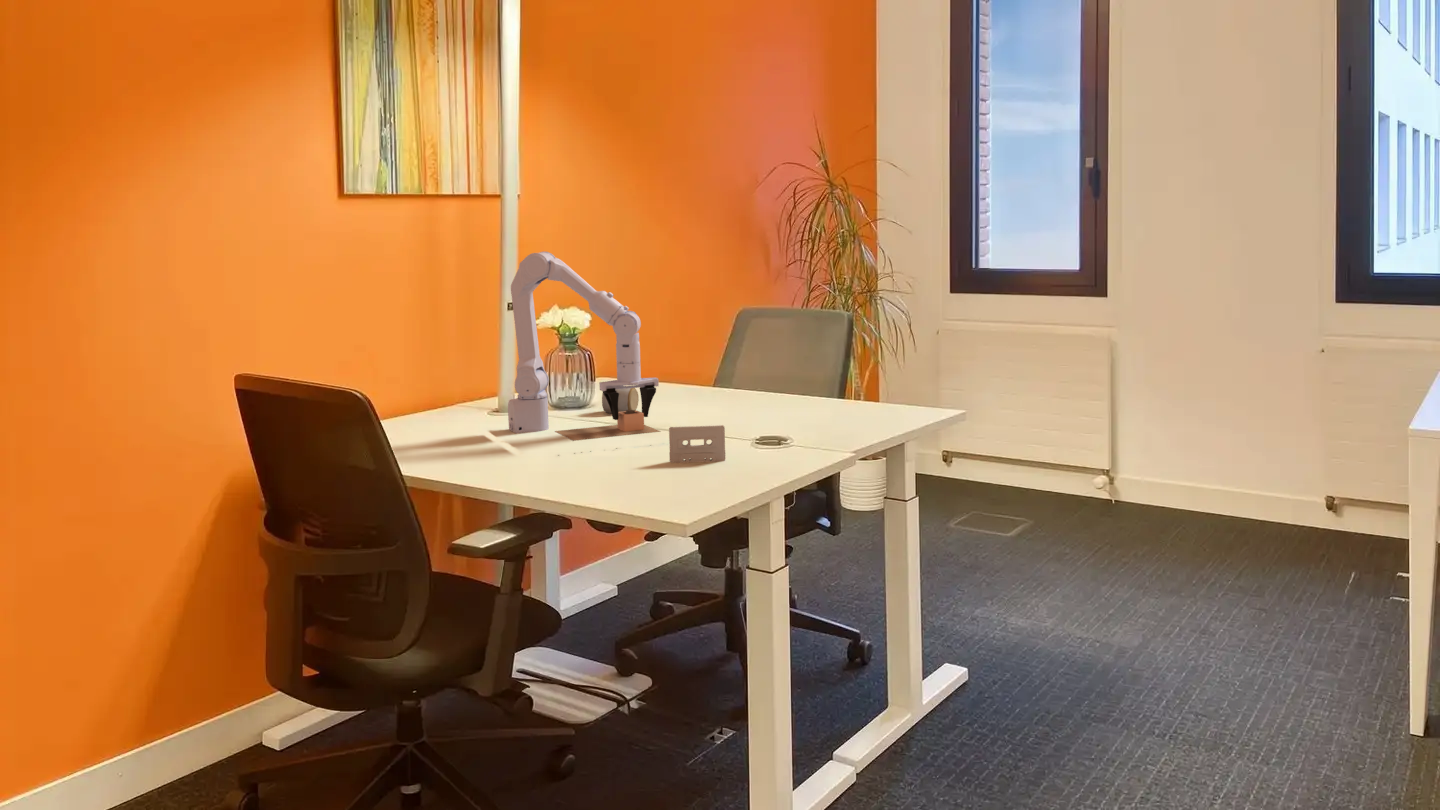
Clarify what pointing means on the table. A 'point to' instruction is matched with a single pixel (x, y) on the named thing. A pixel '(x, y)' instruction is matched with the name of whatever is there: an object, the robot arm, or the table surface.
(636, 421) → the collar
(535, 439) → the table surface
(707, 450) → the cassette
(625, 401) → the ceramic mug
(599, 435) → the plate
